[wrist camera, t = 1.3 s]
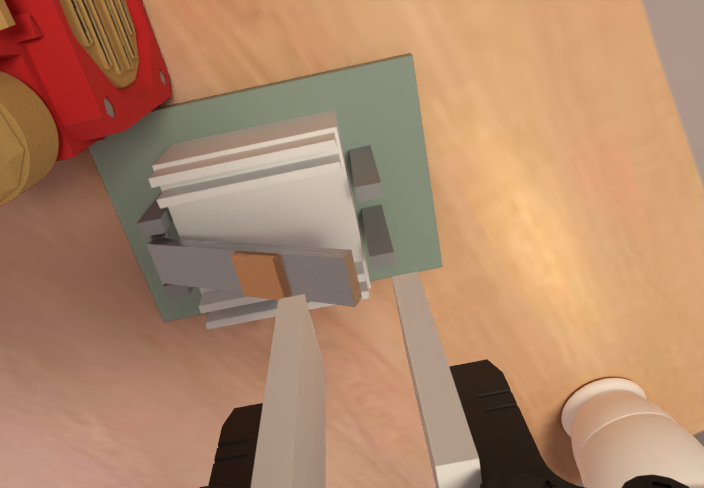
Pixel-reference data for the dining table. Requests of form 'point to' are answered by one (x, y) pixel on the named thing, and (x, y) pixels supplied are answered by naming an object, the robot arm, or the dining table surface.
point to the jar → (628, 437)
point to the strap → (258, 269)
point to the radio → (71, 81)
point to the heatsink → (280, 179)
